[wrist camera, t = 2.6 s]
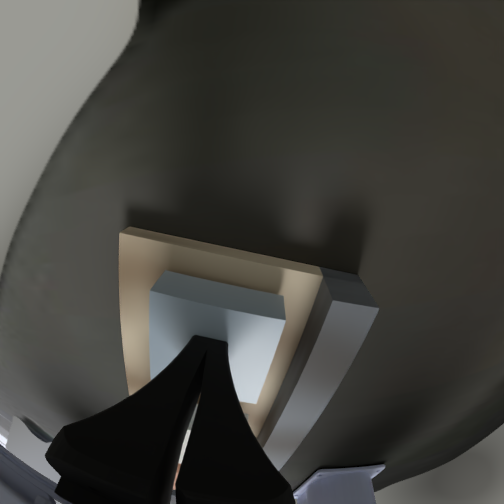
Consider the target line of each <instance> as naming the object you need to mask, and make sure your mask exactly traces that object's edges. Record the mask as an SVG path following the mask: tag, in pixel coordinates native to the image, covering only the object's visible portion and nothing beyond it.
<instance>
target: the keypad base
mask: <svg viewBox="0 0 504 504" xmlns="http://www.w3.org/2000/svg"><path fill="white" fill-rule="evenodd" d="M165 270H167V271H171V272H175V273H180V274H184V275H188V276H193V277H197V278H202V279H206V280H210V281H215V282H220V283H224V284H229V285H233V286H238V287H243V288H248V289H253V290H257V291H262V292H267V293H272V294H277V295H283V296H284V305H285V315H286V322H285V325H284V328H283V331H282V334H281V337H280V340H279V343H278V346H277V348H276V351H275V354H274V357H273V360H272V363H271V365H270V368H269V371H268V374H267V376H266V379H265V382H264V384H263V387H262V390H261V392H260V395H259V398H258V400H257V403H256V404H253V403H246V402H240V401H239V402H240V405H241V407H242V410H243V412H244V413H246V414H249V415H248V424H249V426H250V428H251V430H252V432H253V433H254V435H255V437H256V439H257V440H258V442H259V444H260V445H261V447H262V449H263V450H264V452H265V453H266V455H267V456H268V458H269V459H270V461H271V462H272V463H273V465H274V466H275V467H276V469H277V470H278V471H279V470H280V469H281V468H282V466H283V465H284V464H285V463H286V461H287V460H288V459H289V458H290V456H291V455H292V454H293V453H294V451H295V450H296V449H297V447H298V446H299V445H300V443H301V442H302V441H303V439H304V438H305V436H306V435H307V434H308V432H309V431H310V429H311V428H312V427H313V425H314V424H315V422H316V421H317V419H318V418H319V416H320V415H321V413H322V412H323V410H324V409H325V407H326V406H327V404H328V402H329V401H330V399H331V398H332V396H333V395H334V393H335V391H336V390H337V388H338V386H339V385H340V383H341V381H342V380H343V378H344V376H345V374H346V373H347V371H348V369H349V367H350V366H351V364H352V362H353V360H354V358H355V357H356V355H357V353H358V351H359V349H360V347H361V345H362V343H363V341H364V339H365V337H366V335H367V333H368V331H369V329H370V327H371V325H372V323H373V321H374V319H375V317H376V315H377V313H378V310H379V307H378V305H377V304H376V302H375V300H374V299H373V297H372V296H371V294H370V293H369V291H368V289H367V288H366V286H365V285H364V283H363V282H362V280H361V279H360V277H359V276H358V275H356V274H351V273H346V272H341V271H337V270H332V269H327V268H323V267H318V266H313V265H308V264H304V263H299V262H294V261H290V260H285V259H280V258H276V257H271V256H266V255H261V254H257V253H252V252H247V251H243V250H238V249H233V248H228V247H224V246H219V245H214V244H210V243H205V242H200V241H196V240H191V239H186V238H181V237H177V236H172V235H167V234H163V233H158V232H153V231H149V230H144V229H139V228H134V227H130V226H129V227H128V228H126V229H124V230H123V231H121V232H120V234H119V298H120V317H121V331H122V342H123V352H124V361H125V369H126V376H127V383H128V389H129V395H132V394H134V393H135V392H136V391H138V390H139V389H141V388H142V387H143V386H145V385H146V384H147V383H148V382H150V381H151V377H150V353H149V295H150V289H151V288H152V287H153V285H154V284H155V283H156V282H157V280H158V279H159V278H160V276H161V275H162V274H163V272H164V271H165ZM200 394H201V393H200ZM199 399H200V396H199ZM199 399H198V402H197V404H198V403H199Z"/></svg>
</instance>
